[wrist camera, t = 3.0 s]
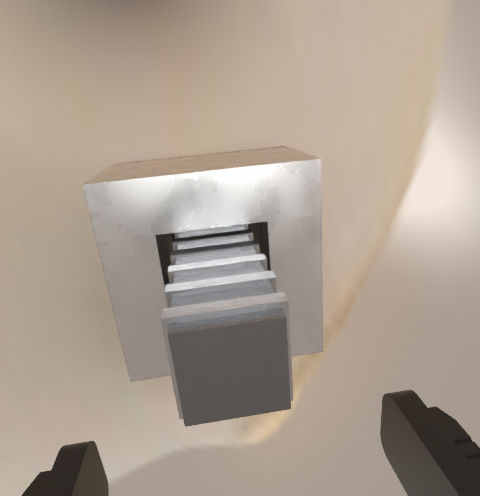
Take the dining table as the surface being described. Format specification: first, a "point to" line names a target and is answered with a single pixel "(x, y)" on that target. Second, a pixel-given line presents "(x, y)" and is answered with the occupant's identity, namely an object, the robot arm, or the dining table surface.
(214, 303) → the column
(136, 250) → the housing
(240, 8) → the dining table surface
